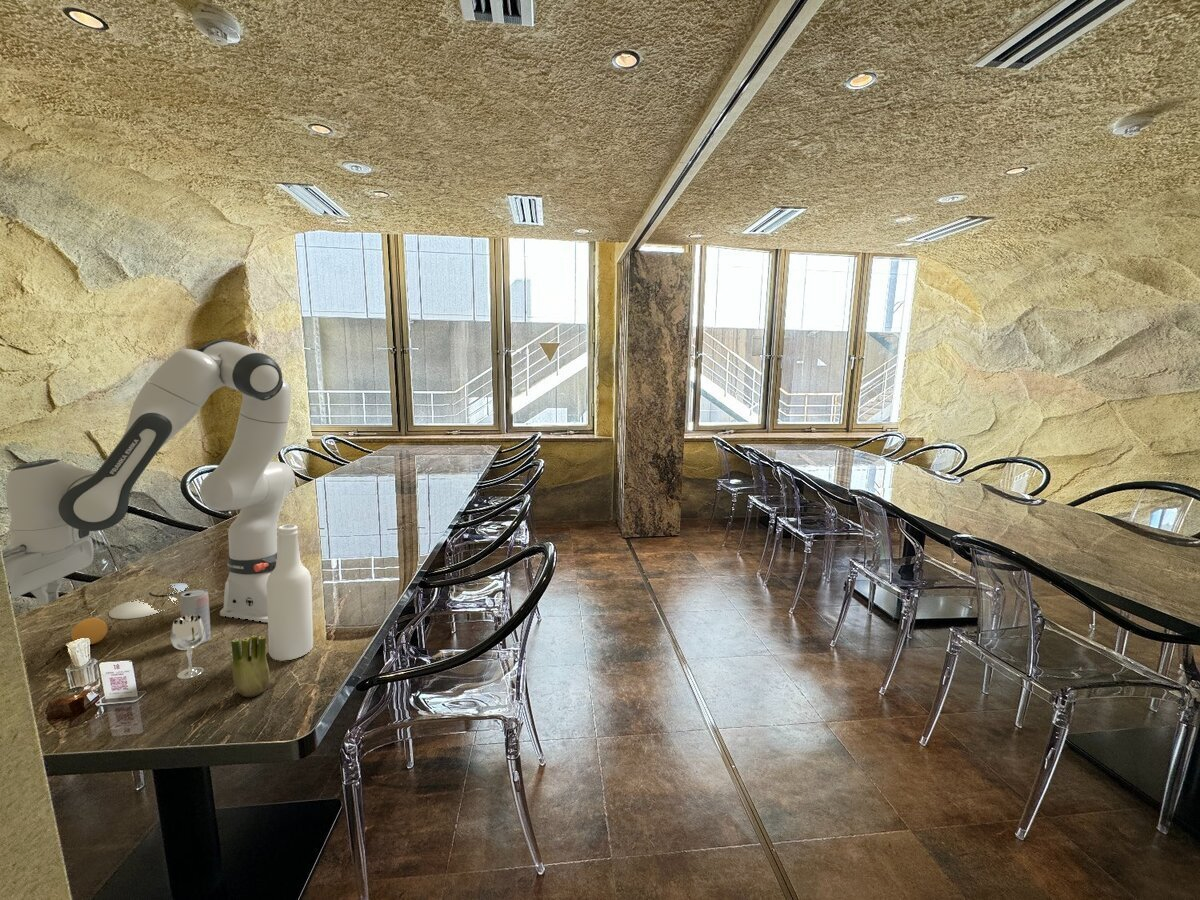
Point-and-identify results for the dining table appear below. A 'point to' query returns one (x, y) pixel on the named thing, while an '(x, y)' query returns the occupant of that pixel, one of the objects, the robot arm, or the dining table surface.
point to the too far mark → (179, 587)
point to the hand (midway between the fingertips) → (48, 602)
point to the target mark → (134, 610)
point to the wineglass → (188, 640)
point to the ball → (90, 630)
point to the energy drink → (197, 607)
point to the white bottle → (289, 600)
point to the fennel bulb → (250, 666)
